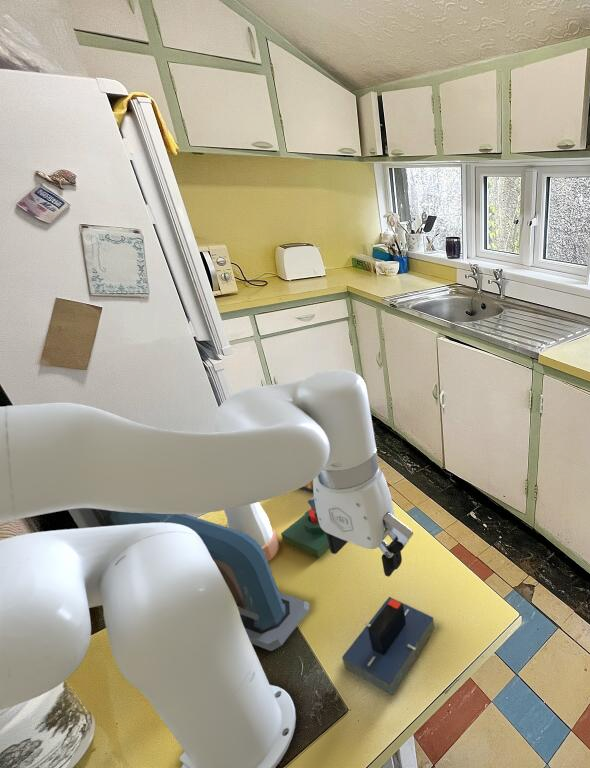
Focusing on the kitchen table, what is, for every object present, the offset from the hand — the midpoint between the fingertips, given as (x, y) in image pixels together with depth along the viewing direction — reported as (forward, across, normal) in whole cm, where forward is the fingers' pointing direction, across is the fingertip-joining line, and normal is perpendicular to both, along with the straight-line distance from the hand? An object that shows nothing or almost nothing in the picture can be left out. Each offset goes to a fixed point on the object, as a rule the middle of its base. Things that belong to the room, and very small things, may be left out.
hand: (366, 557), depth 61 cm
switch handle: (+14, +3, -2) cm, 15 cm away
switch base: (+17, +3, -2) cm, 18 cm away
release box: (+17, -25, +13) cm, 33 cm away
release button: (+14, -25, +13) cm, 32 cm away
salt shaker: (+18, -32, +3) cm, 37 cm away
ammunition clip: (+18, -36, +21) cm, 45 cm away
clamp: (+18, -31, -7) cm, 36 cm away
